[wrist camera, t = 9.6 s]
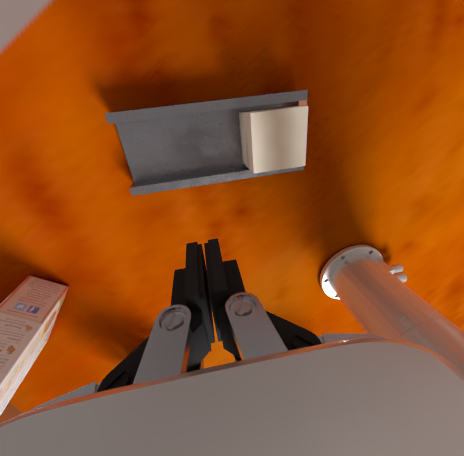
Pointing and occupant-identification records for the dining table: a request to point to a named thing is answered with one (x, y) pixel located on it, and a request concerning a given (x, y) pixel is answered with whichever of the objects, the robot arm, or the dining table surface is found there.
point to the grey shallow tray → (191, 141)
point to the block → (274, 138)
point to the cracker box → (26, 329)
